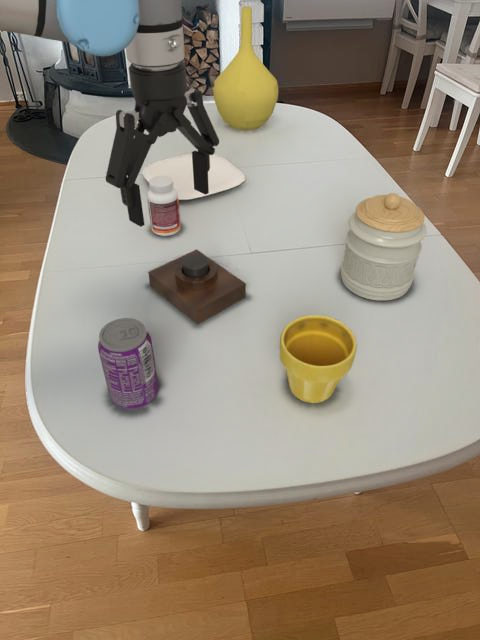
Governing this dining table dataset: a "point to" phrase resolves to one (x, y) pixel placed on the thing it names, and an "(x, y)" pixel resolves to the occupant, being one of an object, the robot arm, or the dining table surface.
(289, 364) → the flower pot
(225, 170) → the plate
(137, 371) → the beverage can
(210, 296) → the button box
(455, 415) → the dining table surface
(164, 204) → the pill bottle
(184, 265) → the button
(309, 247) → the dining table surface
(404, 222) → the jar
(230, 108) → the vase
